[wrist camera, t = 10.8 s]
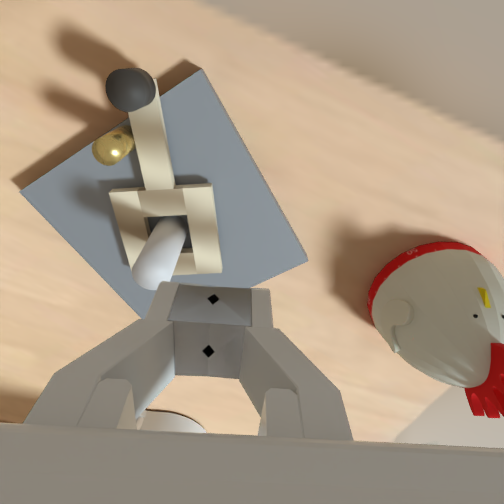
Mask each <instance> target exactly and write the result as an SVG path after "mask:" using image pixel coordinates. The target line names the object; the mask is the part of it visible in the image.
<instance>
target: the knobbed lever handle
mask: <svg viewBox="0 0 504 504" xmlns="http://www.w3.org/2000/svg"><path fill="white" fill-rule="evenodd" d="M106 93H107V96H108V98H109V100H110V101H111V103H112V104H113V105H114V106H115V107H116V108H118V109H119V110H122V111H125V112H128V115H129V119H130V123H131V128H132V132H133V136H134V141H135V145H136V149H137V154H138V158H139V162H140V167H141V171H142V175H143V180H144V184H145V187H135V188H118V189H112V190H111V191H110V192H109V196H110V199H111V203H112V206H113V209H114V213H115V216H116V220H117V223H118V227H119V230H120V234H121V237H122V240H123V244H124V247H125V251H126V254H127V258H128V261H129V265H130V268H131V271H132V267H133V265H134V263H135V261H136V260H137V258H138V256H139V254H140V253H141V251H142V249H143V247H144V245H145V244H146V242H147V240H148V238H149V237H150V235H151V231H150V226H149V222H148V218H147V217H157V216H175V215H187V218H188V224H189V230H190V236H191V241H192V247H193V248H182V249H181V252H180V255H179V258H178V260H177V263H176V266H175V269H174V272H173V274H172V275H189V274H209V273H222V268H223V267H222V259H221V251H220V242H219V234H218V226H217V218H216V210H215V202H214V194H213V186H212V183H204V184H186V185H175V180H174V174H173V168H172V163H171V157H170V152H169V146H168V141H167V135H166V130H165V124H164V119H163V113H162V108H161V102H160V97H159V91H158V86H157V80H156V78H155V79H152V77H151V76H150V75H149V74H148V73H147V72H146V71H144V70H142V69H140V68H128V69H118V70H115V71H113V72H112V73H111V74H110V75H109V76H108V78H107V80H106Z"/></svg>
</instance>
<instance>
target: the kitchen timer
mask: <svg viewBox="0 0 504 504" xmlns="http://www.w3.org/2000/svg"><path fill="white" fill-rule="evenodd" d="M367 306H368V309H369V313H370V316H371V319H372V321H373V323H374V325H375V327H376V329H377V330H378V332H379V333H380V334H381V335H382V337H383V338H384V339H385V340H386V342H387V343H388V344H389V346H390V348H391V349H392V351H393V352H394V353H396V352H397V353H398V354H399V355H400V356H401V357H402V358H403V359H404V360H405V361H406V362H408V363H409V364H410V365H411V366H413V367H414V368H416V369H418V370H419V371H421V372H423V373H424V374H426V375H428V376H429V377H431V378H433V379H435V380H437V381H440V382H442V383H446V384H449V385H453V386H457V387H462V388H465V393H466V396H467V399H468V402H469V405H470V408H471V410H472V412H473V415H474V416H484V411H485V413H486V415H487V417H488V418H500V414H499V412H500V413H501V414H502V415H503V416H504V279H503V277H502V275H501V273H500V272H499V271H498V269H497V268H496V267H495V266H494V265H493V264H492V263H491V262H490V261H489V260H487V259H486V258H485V257H484V256H483V255H481V254H480V253H479V252H478V251H476V250H475V249H474V248H472V247H469V246H466V245H464V244H461V243H458V242H435V243H430V244H425V245H420V246H418V247H415V248H413V249H411V250H409V251H406V252H404V253H402V254H400V255H399V256H398V257H396V258H395V259H394V260H392V261H391V262H389V263H388V264H387V265H386V266H385V267H384V268H383V269H382V270H381V272H380V273H379V274H378V275H377V276H376V277H375V279H374V281H373V283H372V286H371V288H370V290H369V293H368V303H367ZM483 409H484V410H483Z"/></svg>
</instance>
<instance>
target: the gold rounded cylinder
mask: <svg viewBox="0 0 504 504" xmlns="http://www.w3.org/2000/svg"><path fill="white" fill-rule="evenodd" d="M135 148H136V145H135V141H134V136H133V132H132V128H131V126H129V125H123V126H121V127H119V128H117V129H115V130H113V131H111V132H109V133H107V134H106V135H104V136H102V137H100V138H98V139H96V140H95V141H94V142H93V144H92V153H93V156H94V157H95V159H96V160H97V161H98V162H99V163H101V164H103V165H106V166H112V165H115V164H116V163H118V162H119V161H120V160H121V159H123V158H124V157H125V156H126V155H128V154H129V153H130V152H131V151H133V150H134V149H135Z"/></svg>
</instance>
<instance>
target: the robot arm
mask: <svg viewBox="0 0 504 504" xmlns="http://www.w3.org/2000/svg"><path fill="white" fill-rule="evenodd" d="M175 375H185V376H207V375H208V376H210V377H222V378H233V379H239V381H240V383H241V384H242V386H243V388H244V389H245V391H246V393H247V395H248V396H249V398H250V400H251V401H252V403H253V405H254V407H255V408H256V410H257V412H258V413H259V415H260V417H261V420H260V426H259V431H258V436H252V435H233V434H214V433H207V432H206V431H205V430H204V429H203V428H202V427H201V426H200V425H199V424H198V423H196V422H195V421H193V420H191V419H189V418H187V417H184V416H181V415H177V414H173V413H167V412H153V411H146V410H145V409H146V408H147V407H148V406H149V404H150V403H151V402H152V401H153V400H154V399H155V398H156V397H157V396H158V395H159V394H160V392H161V391H162V390H163V389H164V388H165V387H166V386H167V385H168V384H169V383H170V382H171V381H172V379H173V378H174V377H175ZM0 504H504V449H503V448H485V447H466V446H465V447H464V446H446V445H427V444H408V443H389V442H369V441H354V440H353V437H352V433H351V430H350V426H349V422H348V419H347V415H346V411H345V408H344V404H343V400H342V397H341V393H340V391H339V390H338V389H337V387H336V386H335V385H334V384H333V383H332V382H331V381H330V380H329V379H328V378H327V377H326V376H325V375H324V374H323V373H322V372H321V371H320V370H319V369H318V368H317V367H316V366H315V365H314V364H313V363H312V362H311V361H310V360H309V359H308V358H307V357H306V356H305V355H304V354H303V353H302V352H301V351H300V350H299V349H298V348H297V347H296V346H295V345H294V344H293V343H292V342H291V341H290V340H289V339H288V338H287V337H286V335H285V334H284V333H283V332H282V331H281V330H280V329H276V328H273V318H272V307H271V296H270V290H269V289H262V288H235V287H220V286H212V285H202V284H191V283H179V282H168V281H162V282H161V283H159V285H158V288H157V290H156V293H155V295H154V298H153V300H152V303H151V305H150V307H149V310H148V312H147V315H146V317H145V319H138V320H137V321H135V322H134V323H132V324H131V325H129V326H127V327H126V328H124V329H123V330H121V331H120V332H118V333H116V334H115V335H113V336H112V337H110V338H109V339H107V340H106V341H104V342H102V343H101V344H99V345H98V346H96V347H95V348H93V349H91V350H90V351H88V352H87V353H85V354H84V355H82V356H81V357H79V358H77V359H76V360H74V361H73V362H71V363H70V364H68V365H66V366H65V367H63V368H62V369H60V370H59V371H57V372H56V373H54V375H53V376H52V378H51V379H50V381H49V382H48V384H47V386H46V387H45V389H44V390H43V392H42V394H41V395H40V397H39V398H38V400H37V401H36V403H35V405H34V406H33V408H32V409H31V411H30V412H29V414H28V416H27V417H26V419H25V420H24V422H23V424H19V423H0Z"/></svg>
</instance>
